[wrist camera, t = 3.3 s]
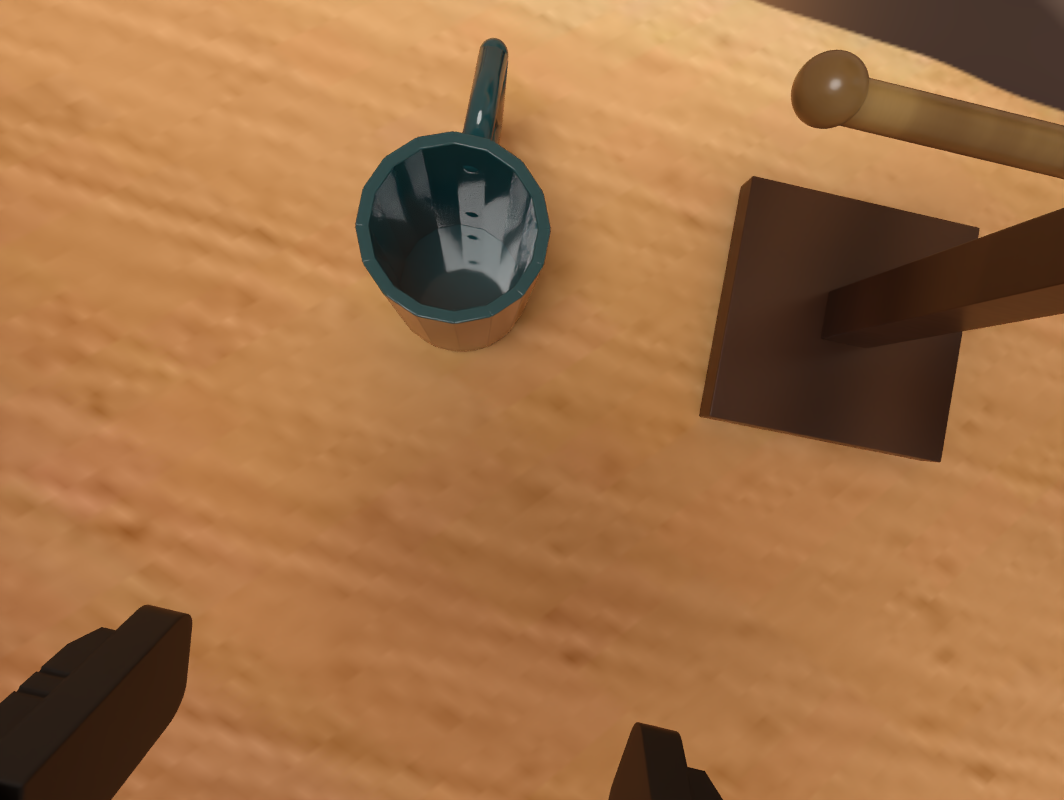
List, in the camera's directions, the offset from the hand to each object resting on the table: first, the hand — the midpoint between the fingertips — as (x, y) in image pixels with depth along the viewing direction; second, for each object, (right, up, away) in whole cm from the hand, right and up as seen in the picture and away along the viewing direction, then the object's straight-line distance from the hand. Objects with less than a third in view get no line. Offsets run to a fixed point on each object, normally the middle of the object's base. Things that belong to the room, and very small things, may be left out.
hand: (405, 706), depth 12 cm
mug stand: (+15, +10, +22) cm, 28 cm away
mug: (-1, +13, +21) cm, 25 cm away
